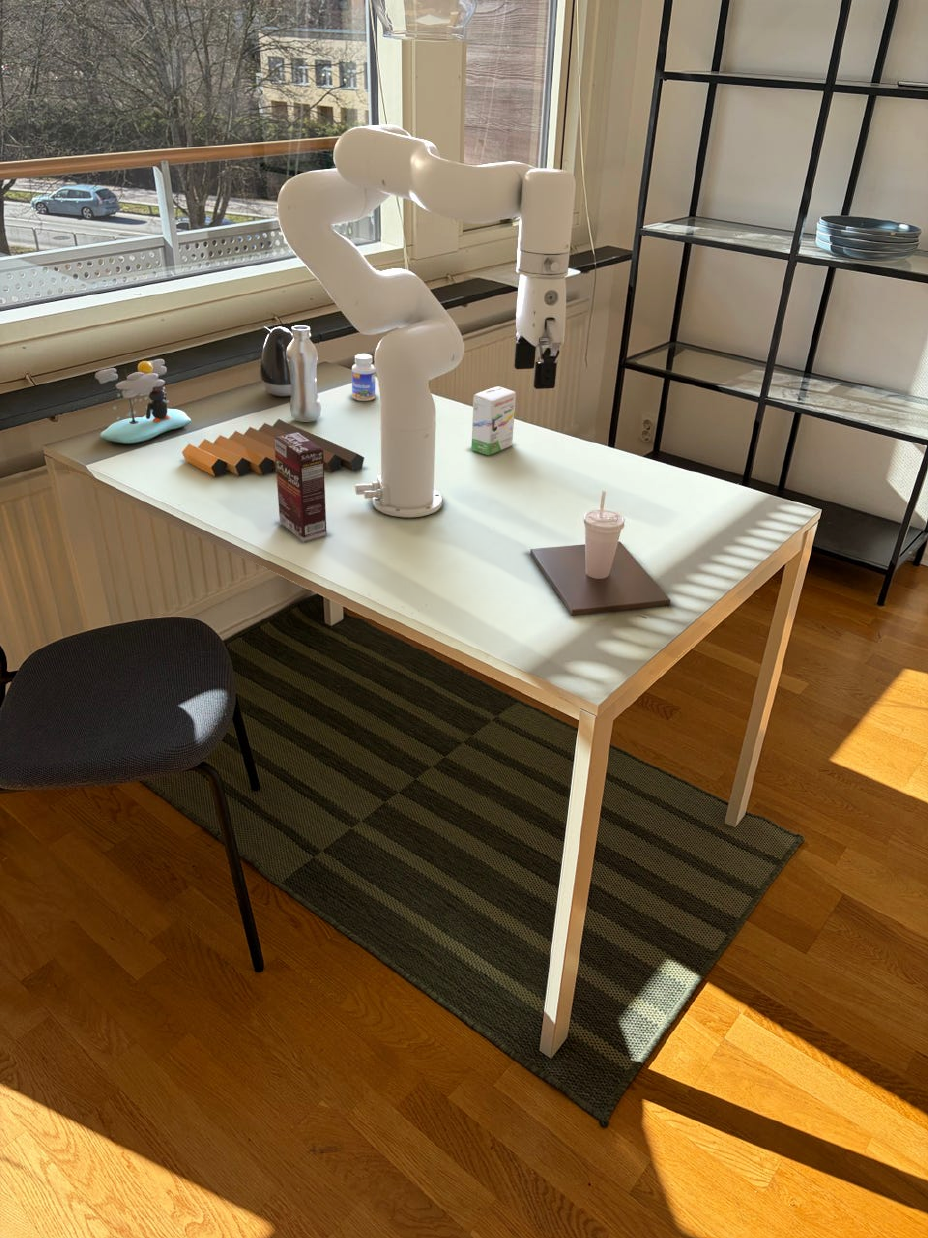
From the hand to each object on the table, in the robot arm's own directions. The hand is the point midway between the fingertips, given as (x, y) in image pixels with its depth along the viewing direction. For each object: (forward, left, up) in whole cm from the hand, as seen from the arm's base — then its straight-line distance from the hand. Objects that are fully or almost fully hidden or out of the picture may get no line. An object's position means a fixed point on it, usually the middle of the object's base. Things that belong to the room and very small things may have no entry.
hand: (533, 377), depth 149 cm
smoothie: (+8, -15, -28) cm, 32 cm away
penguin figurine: (-62, +62, -28) cm, 92 cm away
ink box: (+7, +42, -28) cm, 51 cm away
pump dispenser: (-32, +83, -28) cm, 93 cm away
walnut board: (+8, -15, -28) cm, 33 cm away
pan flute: (-38, +40, -28) cm, 62 cm away
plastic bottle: (-29, +64, -28) cm, 76 cm away
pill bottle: (-14, +77, -28) cm, 83 cm away
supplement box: (-36, +11, -28) cm, 47 cm away
